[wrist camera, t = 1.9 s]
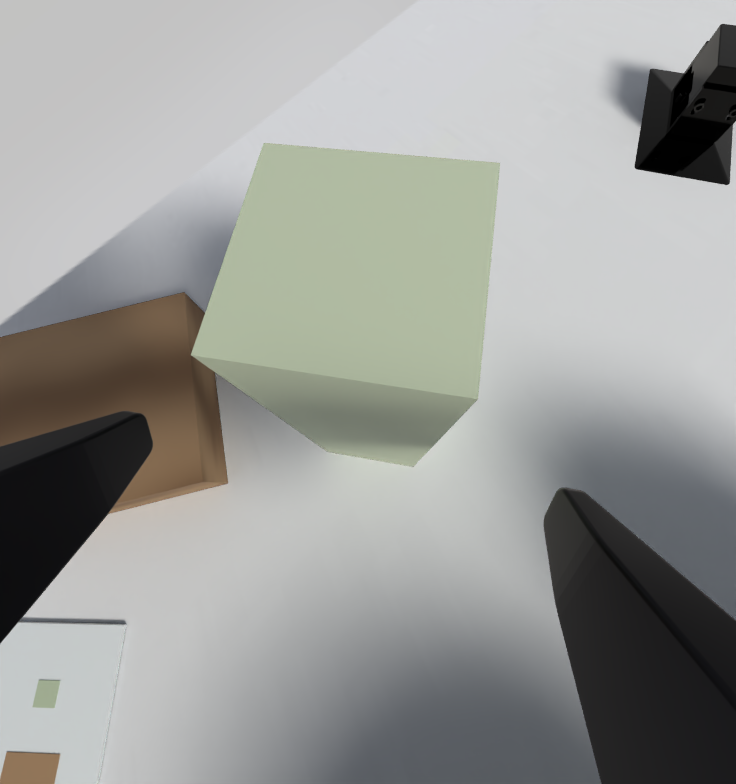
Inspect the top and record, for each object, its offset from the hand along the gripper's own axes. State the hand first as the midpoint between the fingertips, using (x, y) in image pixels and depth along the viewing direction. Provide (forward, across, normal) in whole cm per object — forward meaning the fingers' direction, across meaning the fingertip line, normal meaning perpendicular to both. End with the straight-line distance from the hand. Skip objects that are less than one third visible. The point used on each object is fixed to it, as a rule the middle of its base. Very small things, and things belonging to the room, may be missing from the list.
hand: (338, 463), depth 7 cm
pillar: (+10, 0, +5) cm, 11 cm away
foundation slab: (+8, +14, +7) cm, 17 cm away
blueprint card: (-2, +12, +17) cm, 21 cm away
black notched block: (+27, -17, -10) cm, 33 cm away
